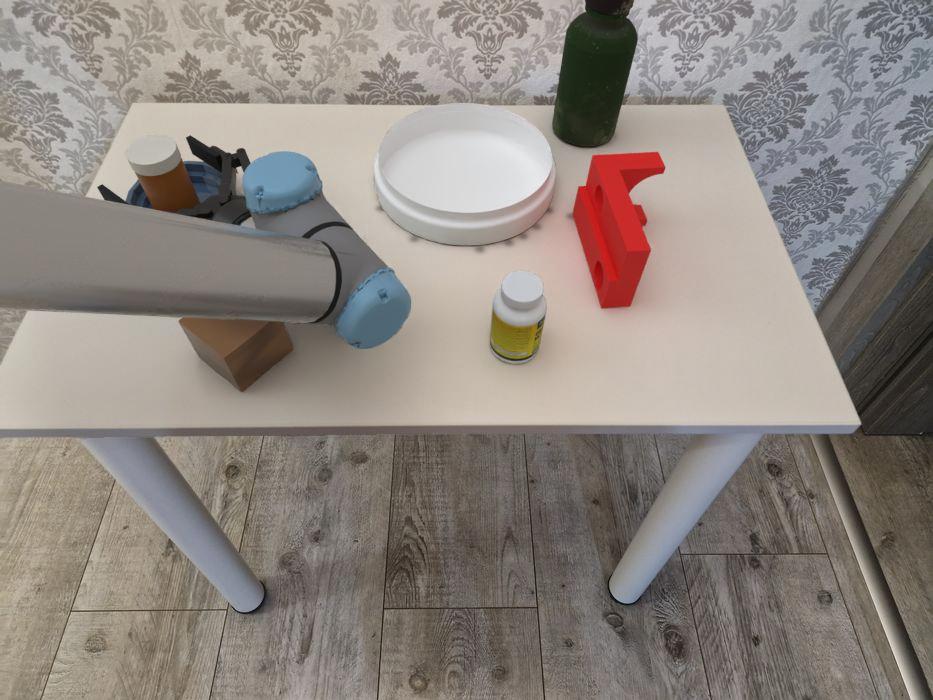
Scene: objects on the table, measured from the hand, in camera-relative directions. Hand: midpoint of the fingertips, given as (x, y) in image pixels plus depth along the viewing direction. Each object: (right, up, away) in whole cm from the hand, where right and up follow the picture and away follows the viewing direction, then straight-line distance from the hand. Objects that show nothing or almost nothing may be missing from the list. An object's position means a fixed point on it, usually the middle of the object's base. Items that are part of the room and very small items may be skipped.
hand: (149, 168), depth 83 cm
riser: (+16, -25, -9) cm, 31 cm away
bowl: (+3, -5, +5) cm, 8 cm away
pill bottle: (+49, -24, -7) cm, 55 cm away
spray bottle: (+62, +12, +19) cm, 66 cm away
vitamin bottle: (+2, -5, +4) cm, 7 cm away
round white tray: (+43, +1, +11) cm, 44 cm away
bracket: (+65, -12, +3) cm, 66 cm away
